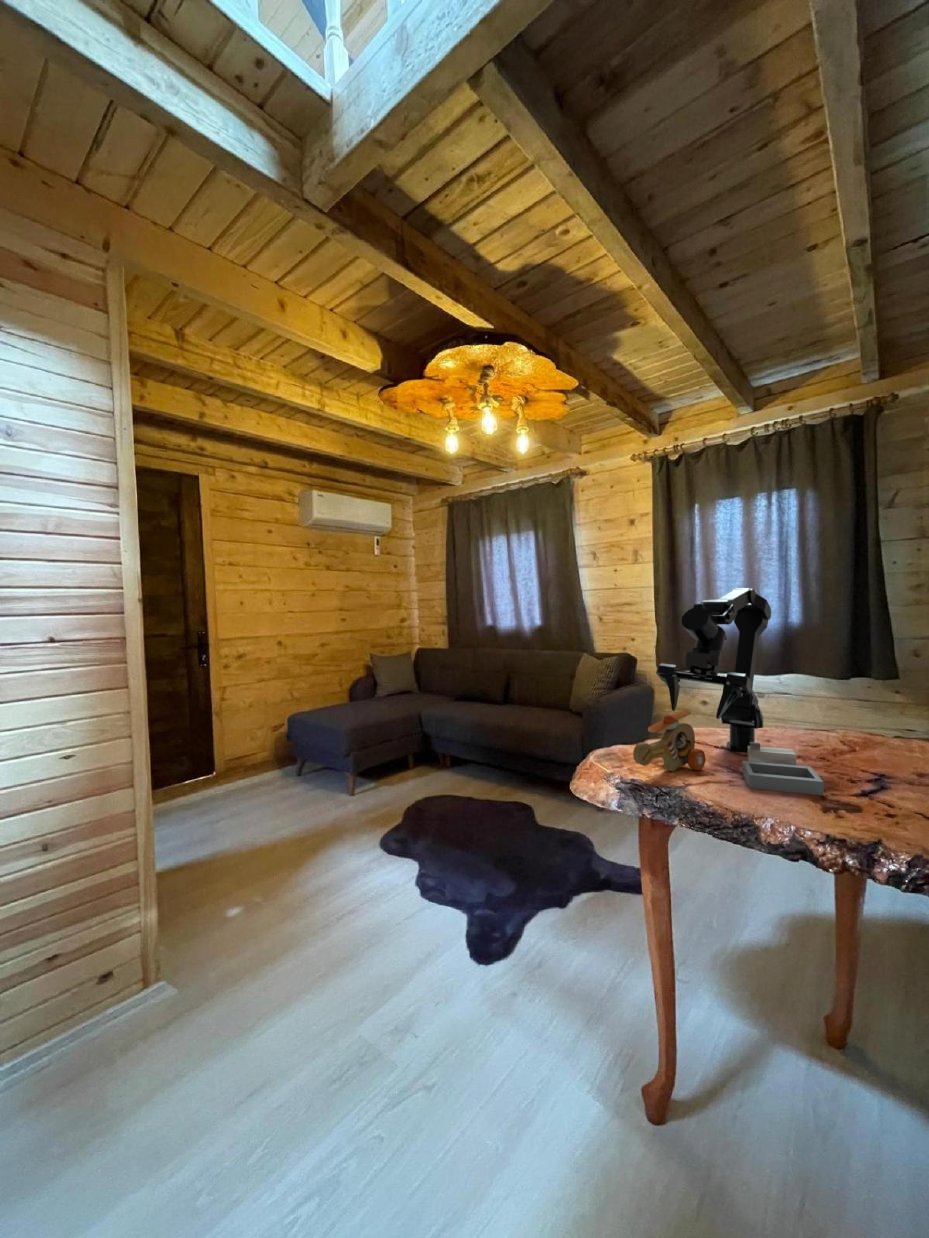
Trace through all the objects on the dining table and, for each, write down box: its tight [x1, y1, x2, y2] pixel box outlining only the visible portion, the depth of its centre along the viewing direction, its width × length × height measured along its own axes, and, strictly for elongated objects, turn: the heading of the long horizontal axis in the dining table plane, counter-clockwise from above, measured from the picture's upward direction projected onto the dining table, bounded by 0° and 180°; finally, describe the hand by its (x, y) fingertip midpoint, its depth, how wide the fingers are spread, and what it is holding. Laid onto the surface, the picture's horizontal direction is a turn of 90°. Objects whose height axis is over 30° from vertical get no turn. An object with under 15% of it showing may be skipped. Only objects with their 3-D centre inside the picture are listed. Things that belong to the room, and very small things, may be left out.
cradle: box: [742, 760, 824, 796], centre depth 107 cm, size 9×13×3 cm
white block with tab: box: [747, 741, 797, 765], centre depth 116 cm, size 4×9×6 cm, turn 68°
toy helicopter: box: [632, 709, 706, 772], centre depth 115 cm, size 8×21×14 cm, turn 123°
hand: (694, 714), depth 110 cm, fingers open, 9 cm apart
